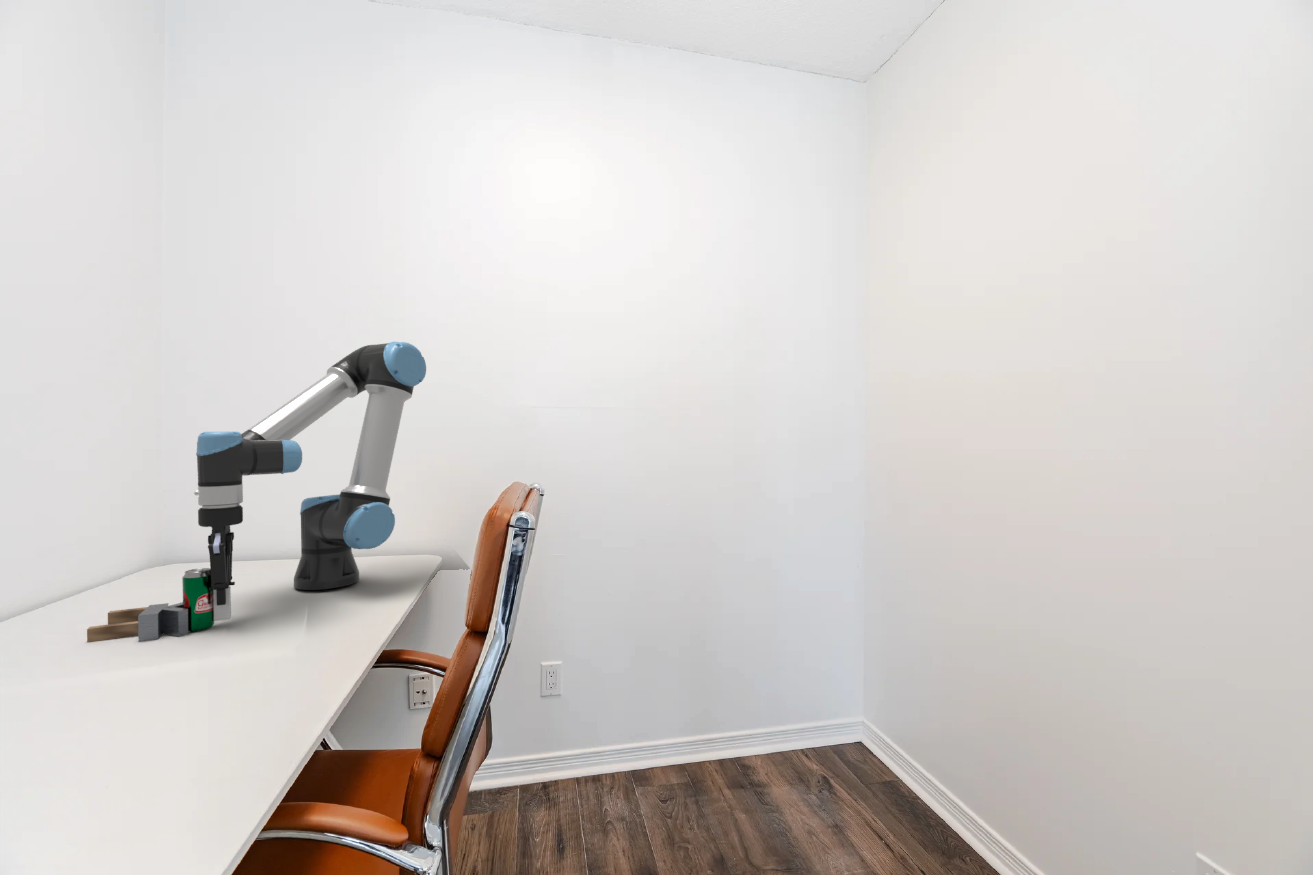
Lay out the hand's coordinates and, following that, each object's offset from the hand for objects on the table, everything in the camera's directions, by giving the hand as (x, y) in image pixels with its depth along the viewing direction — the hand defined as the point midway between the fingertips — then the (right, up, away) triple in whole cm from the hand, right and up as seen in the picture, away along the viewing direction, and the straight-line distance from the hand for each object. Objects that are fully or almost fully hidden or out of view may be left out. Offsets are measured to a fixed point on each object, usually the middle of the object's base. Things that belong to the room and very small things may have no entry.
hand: (222, 618), depth 125 cm
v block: (-8, -1, -4) cm, 9 cm away
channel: (-19, -2, -2) cm, 19 cm away
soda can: (-4, -2, -2) cm, 4 cm away
